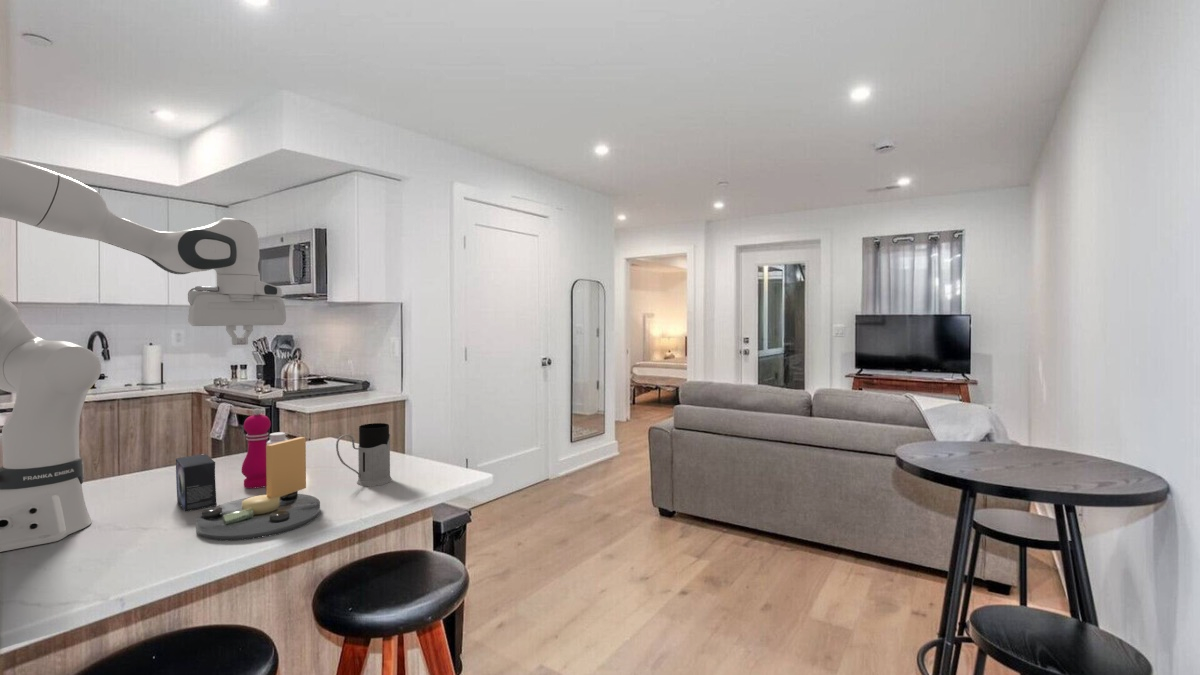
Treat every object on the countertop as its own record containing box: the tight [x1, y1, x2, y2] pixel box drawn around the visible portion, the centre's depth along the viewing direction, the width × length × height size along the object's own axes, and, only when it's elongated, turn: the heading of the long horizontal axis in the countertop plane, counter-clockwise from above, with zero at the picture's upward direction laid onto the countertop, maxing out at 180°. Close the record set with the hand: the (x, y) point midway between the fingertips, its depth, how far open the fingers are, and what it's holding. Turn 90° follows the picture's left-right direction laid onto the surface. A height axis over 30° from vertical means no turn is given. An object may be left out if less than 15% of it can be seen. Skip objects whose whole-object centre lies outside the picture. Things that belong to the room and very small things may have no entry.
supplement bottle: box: [267, 431, 289, 445], centre depth 161 cm, size 6×6×10 cm
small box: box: [175, 453, 218, 513], centre depth 132 cm, size 11×6×10 cm, turn 45°
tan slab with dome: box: [242, 436, 307, 515], centre depth 125 cm, size 14×7×14 cm, turn 159°
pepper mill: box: [241, 408, 272, 489], centre depth 146 cm, size 7×7×20 cm
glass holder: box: [335, 422, 393, 487], centre depth 148 cm, size 9×14×15 cm, turn 136°
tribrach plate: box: [195, 491, 321, 541], centre depth 122 cm, size 23×23×4 cm
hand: (239, 344), depth 136 cm, fingers closed
